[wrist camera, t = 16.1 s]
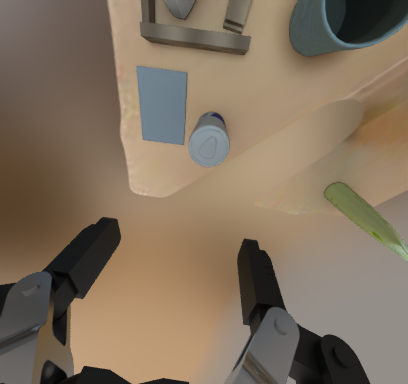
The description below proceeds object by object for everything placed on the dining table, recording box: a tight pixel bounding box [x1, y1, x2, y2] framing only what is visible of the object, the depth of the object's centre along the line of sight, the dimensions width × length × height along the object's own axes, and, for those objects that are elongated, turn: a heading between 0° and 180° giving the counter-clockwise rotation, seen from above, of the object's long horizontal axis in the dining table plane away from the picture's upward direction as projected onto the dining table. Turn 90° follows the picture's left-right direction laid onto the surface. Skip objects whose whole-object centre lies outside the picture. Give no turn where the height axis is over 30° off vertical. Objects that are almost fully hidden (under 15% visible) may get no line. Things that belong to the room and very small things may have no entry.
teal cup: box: [289, 0, 408, 56], centre depth 20 cm, size 10×10×12 cm
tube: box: [325, 183, 408, 261], centre depth 32 cm, size 6×5×20 cm
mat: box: [137, 66, 187, 145], centre depth 33 cm, size 9×13×1 cm
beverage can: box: [189, 112, 230, 167], centre depth 28 cm, size 6×6×15 cm
